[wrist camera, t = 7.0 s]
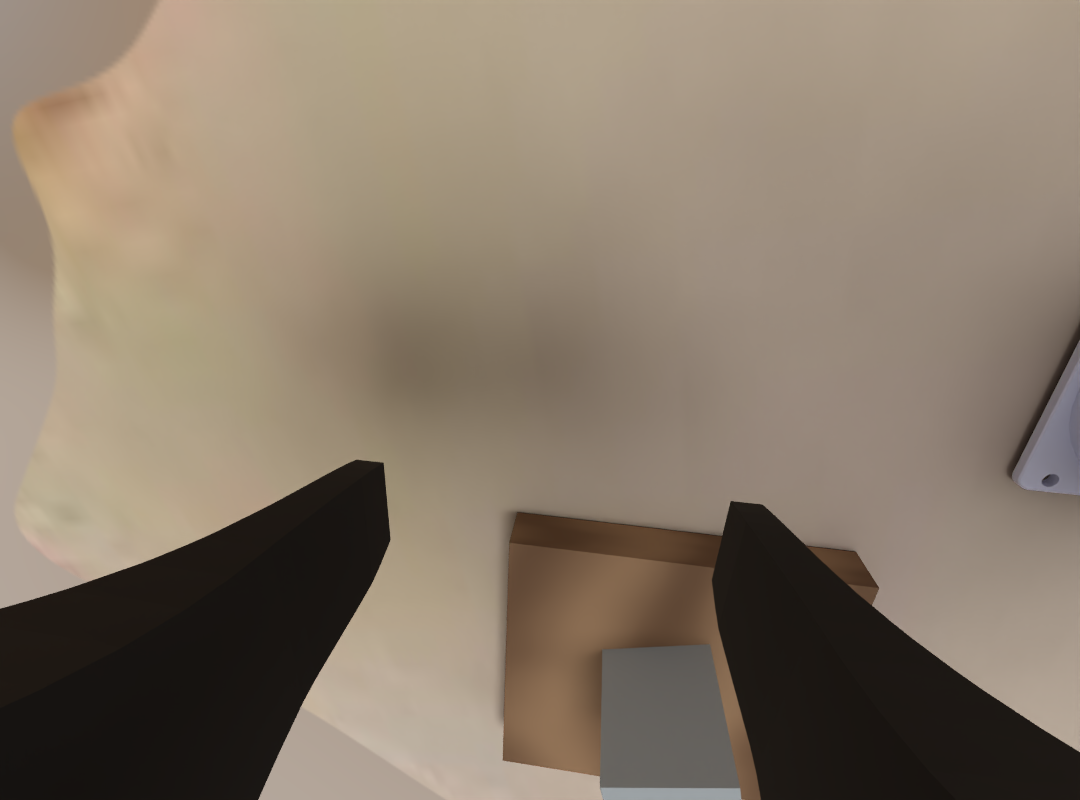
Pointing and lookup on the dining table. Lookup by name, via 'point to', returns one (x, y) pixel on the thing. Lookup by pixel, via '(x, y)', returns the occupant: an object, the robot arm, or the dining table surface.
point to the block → (664, 726)
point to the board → (611, 628)
